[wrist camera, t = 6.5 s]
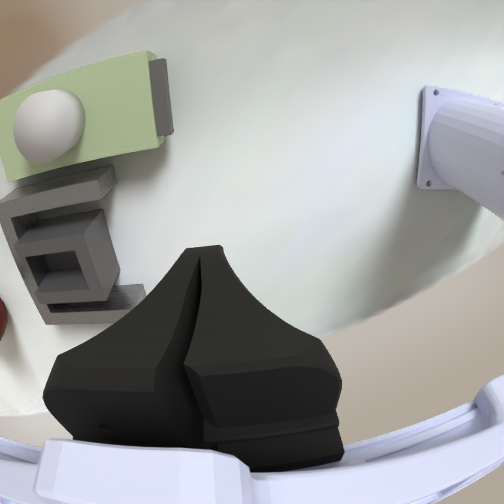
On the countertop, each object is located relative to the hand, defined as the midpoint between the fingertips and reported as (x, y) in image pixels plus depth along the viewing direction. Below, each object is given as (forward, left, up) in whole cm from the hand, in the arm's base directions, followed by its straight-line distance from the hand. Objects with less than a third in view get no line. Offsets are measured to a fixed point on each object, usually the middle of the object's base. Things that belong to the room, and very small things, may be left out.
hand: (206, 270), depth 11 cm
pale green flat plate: (+8, -6, -10) cm, 14 cm away
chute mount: (+10, +3, -10) cm, 14 cm away
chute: (+11, +3, -10) cm, 15 cm away
